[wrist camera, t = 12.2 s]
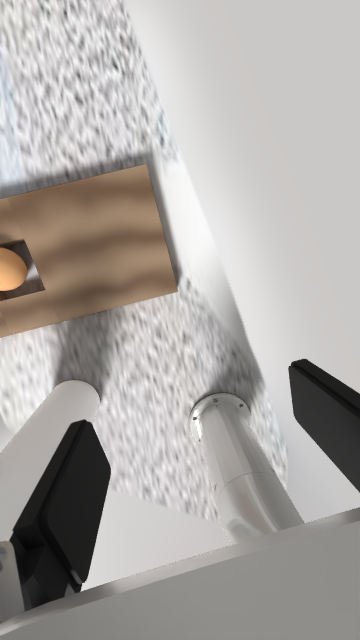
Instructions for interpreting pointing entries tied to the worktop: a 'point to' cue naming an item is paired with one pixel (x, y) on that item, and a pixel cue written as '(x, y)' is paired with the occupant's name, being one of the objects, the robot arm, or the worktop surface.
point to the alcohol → (40, 446)
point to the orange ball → (11, 270)
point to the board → (86, 248)
